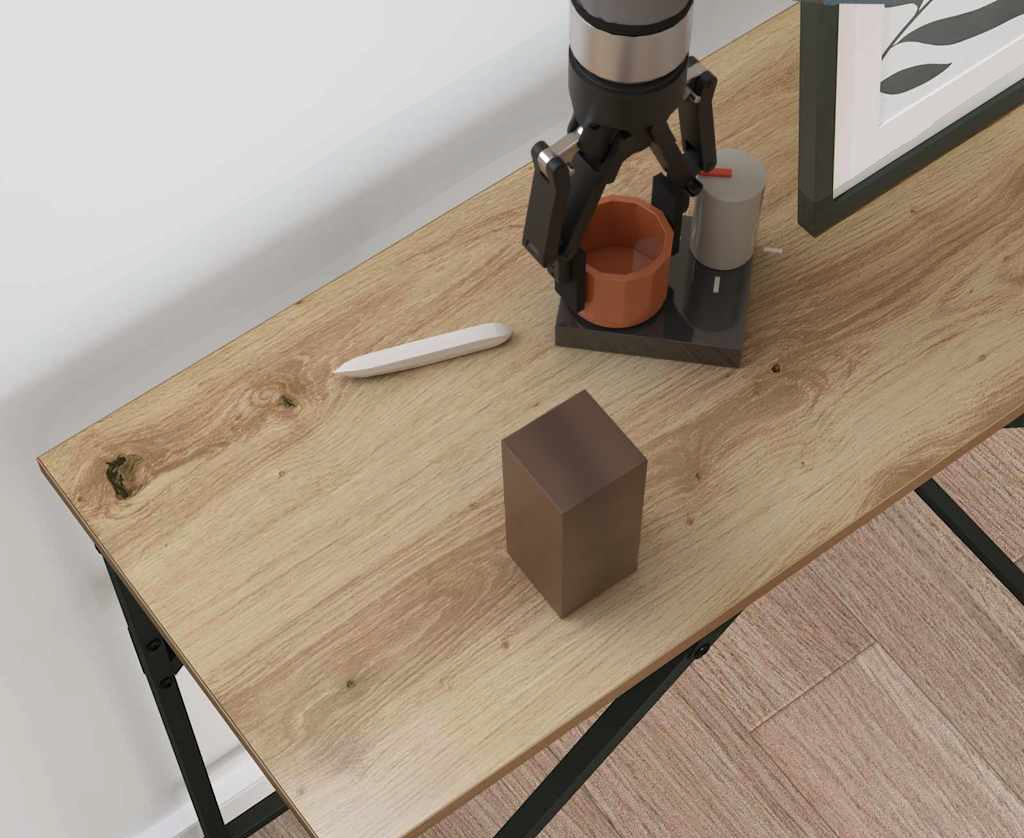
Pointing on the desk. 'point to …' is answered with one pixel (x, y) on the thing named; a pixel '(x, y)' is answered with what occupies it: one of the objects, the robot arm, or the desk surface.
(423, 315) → the desk surface
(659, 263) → the bowl
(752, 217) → the knob
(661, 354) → the stove
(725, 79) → the desk surface
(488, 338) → the pen
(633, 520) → the stand
